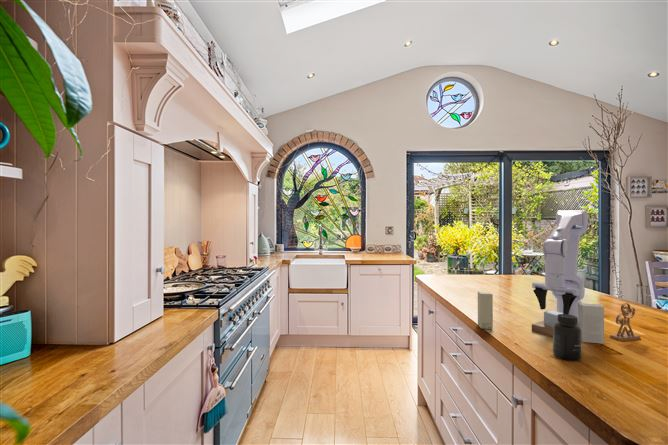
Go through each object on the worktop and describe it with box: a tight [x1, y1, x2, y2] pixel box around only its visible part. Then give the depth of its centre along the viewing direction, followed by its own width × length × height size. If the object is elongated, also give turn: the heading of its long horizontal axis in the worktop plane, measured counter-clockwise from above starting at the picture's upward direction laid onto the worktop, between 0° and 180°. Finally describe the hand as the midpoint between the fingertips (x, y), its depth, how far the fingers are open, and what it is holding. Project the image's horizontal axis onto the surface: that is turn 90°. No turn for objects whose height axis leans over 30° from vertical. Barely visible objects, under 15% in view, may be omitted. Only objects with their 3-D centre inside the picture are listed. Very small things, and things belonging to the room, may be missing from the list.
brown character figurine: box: [609, 302, 641, 342], centre depth 113 cm, size 9×4×12 cm, turn 105°
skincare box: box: [577, 302, 605, 345], centre depth 111 cm, size 6×4×12 cm
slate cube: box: [543, 310, 563, 327], centre depth 119 cm, size 4×4×4 cm
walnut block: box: [531, 320, 553, 338], centre depth 119 cm, size 10×10×3 cm
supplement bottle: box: [552, 314, 582, 362], centre depth 98 cm, size 7×7×12 cm
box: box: [477, 290, 494, 330], centre depth 124 cm, size 5×4×13 cm
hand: (554, 311), depth 119 cm, fingers open, 7 cm apart
